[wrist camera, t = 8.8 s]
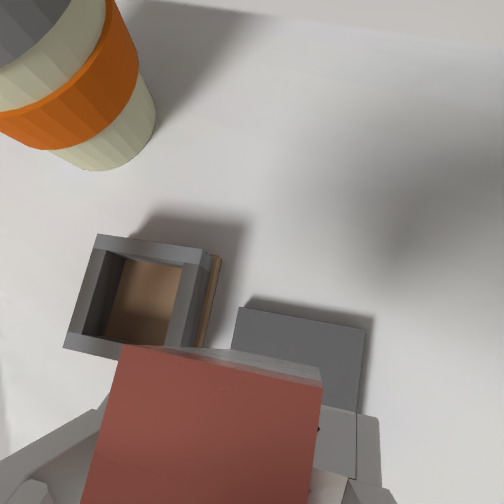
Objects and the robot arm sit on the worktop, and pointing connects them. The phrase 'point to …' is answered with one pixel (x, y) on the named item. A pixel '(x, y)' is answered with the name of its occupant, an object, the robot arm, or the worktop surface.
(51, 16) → the reusable coffee cup
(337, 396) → the rubber pad
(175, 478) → the steel peg
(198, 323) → the square open tray
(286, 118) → the worktop surface
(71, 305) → the worktop surface
